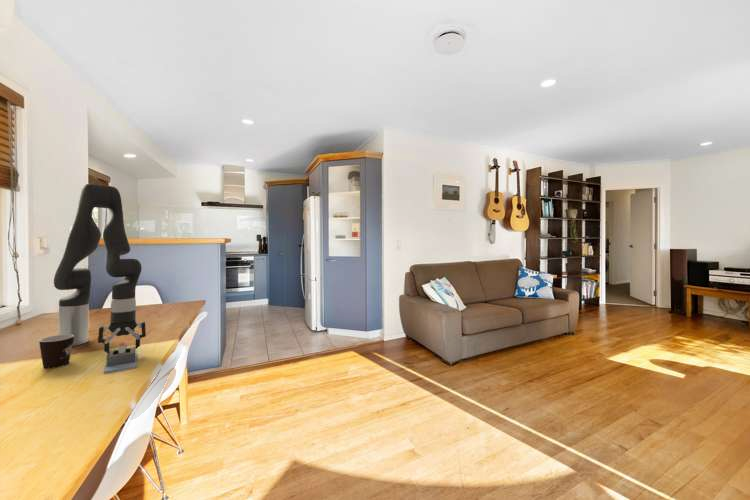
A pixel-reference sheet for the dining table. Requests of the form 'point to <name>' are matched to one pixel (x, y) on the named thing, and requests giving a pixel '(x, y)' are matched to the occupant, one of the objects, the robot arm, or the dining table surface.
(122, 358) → the end link
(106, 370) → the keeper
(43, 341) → the coffee mug
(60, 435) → the dining table surface
